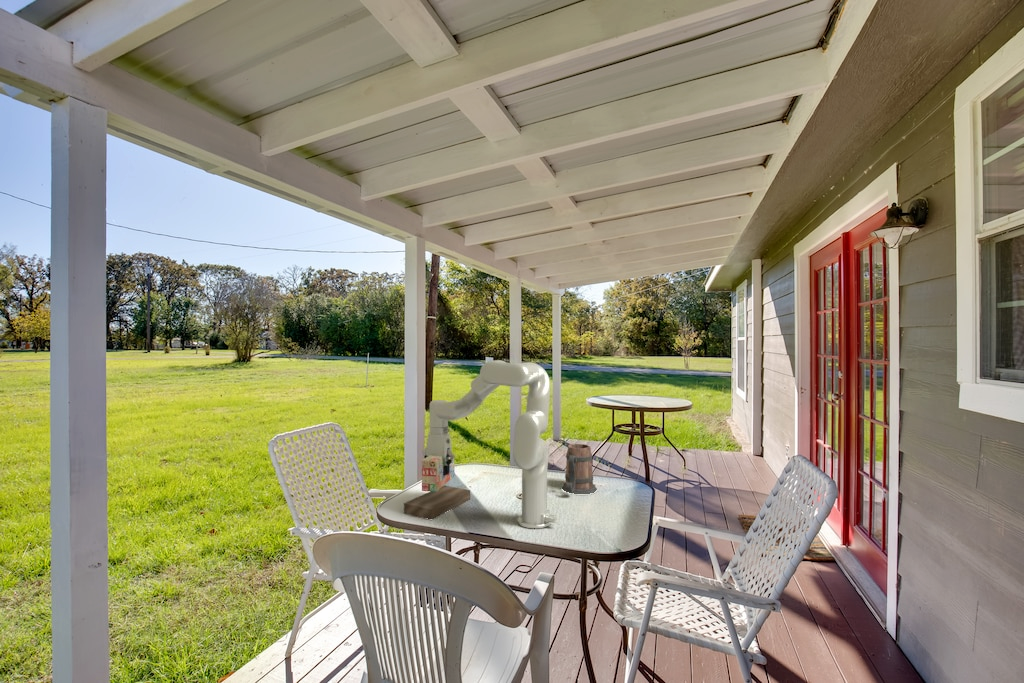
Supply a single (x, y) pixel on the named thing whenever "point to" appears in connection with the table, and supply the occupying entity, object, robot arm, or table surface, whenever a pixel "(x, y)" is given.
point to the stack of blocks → (435, 473)
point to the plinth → (436, 502)
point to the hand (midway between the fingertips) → (438, 473)
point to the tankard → (579, 470)
